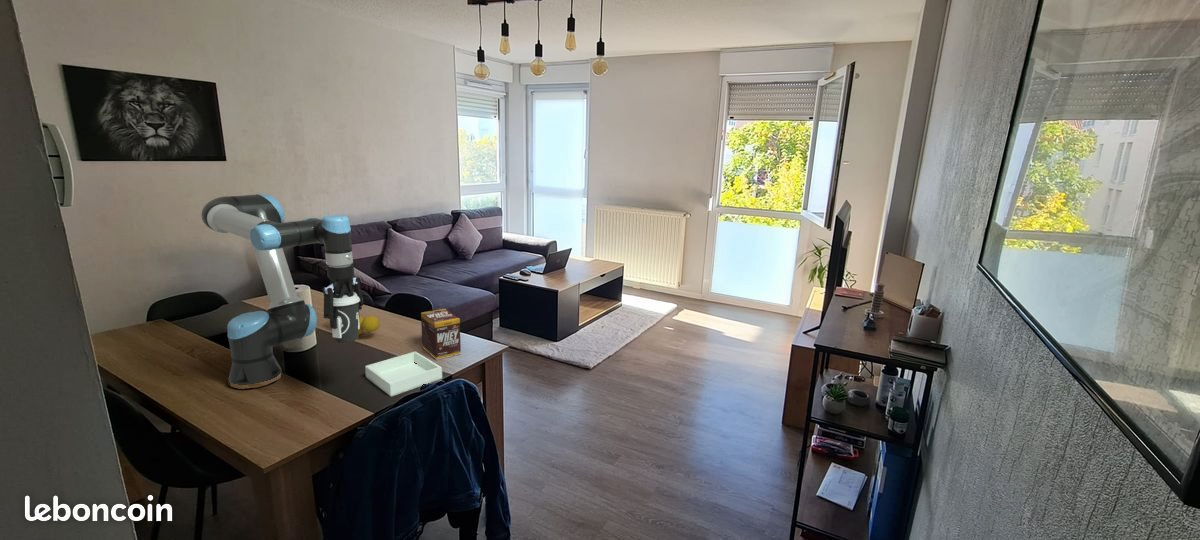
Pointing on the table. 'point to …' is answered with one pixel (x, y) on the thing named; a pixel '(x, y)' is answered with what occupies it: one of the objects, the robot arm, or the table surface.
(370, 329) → the toy
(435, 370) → the bin
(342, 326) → the coffee cup
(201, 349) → the table surface
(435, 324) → the supplement box
